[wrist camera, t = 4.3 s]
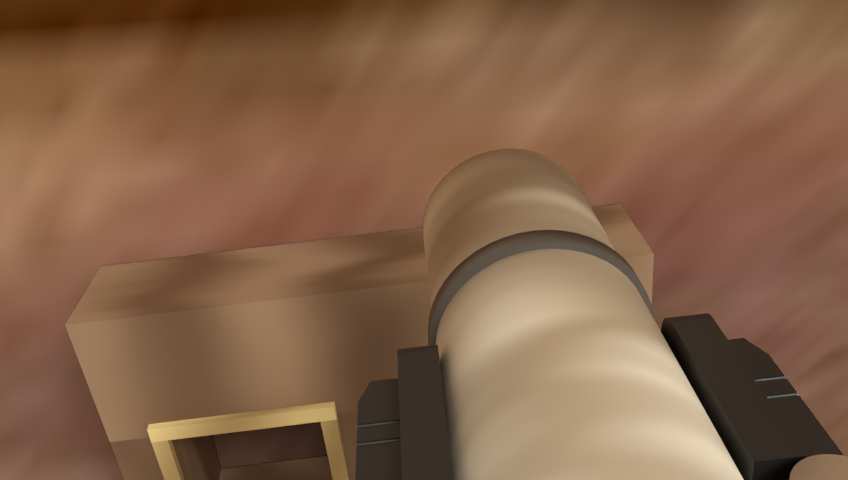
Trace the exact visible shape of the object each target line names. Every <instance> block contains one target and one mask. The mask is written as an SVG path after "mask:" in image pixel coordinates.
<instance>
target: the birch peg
mask: <svg viewBox="0 0 848 480" xmlns="http://www.w3.org/2000/svg"><path fill="white" fill-rule="evenodd" d="M423 238H424V247H425V257H426V266H427V275H428V285H429V294H430V303H431V311H430V315H429V321H428V343H429V345H437V344H438V352H439V360H440V368H441V377H442V386H443V395H444V403H445V412H446V421H447V430H448V438H449V447H450V456H451V465H452V473H453V480H744V479H743V477H742V475H741V474H740V472H739V470H738V468H737V467H736V465H735V463H734V461H733V459H732V458H731V456H730V454H729V452H728V450H727V449H726V447H725V445H724V443H723V442H722V440H721V438H720V436H719V434H718V433H717V431H716V429H715V427H714V426H713V424H712V422H711V420H710V418H709V417H708V415H707V413H706V411H705V409H704V408H703V406H702V404H701V402H700V401H699V399H698V397H697V395H696V393H695V392H694V390H693V388H692V386H691V384H690V383H689V381H688V379H687V377H686V376H685V374H684V372H683V370H682V368H681V367H680V365H679V363H678V361H677V359H676V358H675V356H674V354H673V352H672V351H671V349H670V347H669V345H668V343H667V342H666V340H665V338H664V336H663V334H662V333H661V331H660V329H659V327H658V326H657V324H656V322H655V320H654V313H653V308H652V304H651V302H650V299H649V297H648V294H647V292H646V290H645V289H644V287H643V285H642V284H641V282H640V280H639V278H638V277H637V275H636V273H635V272H634V270H633V268H632V267H631V266H630V265H629V264H628V262H627V261H626V260H625V259H624V258H623V257H622V256H621V255H619V254H618V253H617V252H616V251H615V249H614V247H613V245H612V243H611V242H610V240H609V238H608V236H607V234H606V233H605V231H604V229H603V227H602V226H601V224H600V222H599V220H598V218H597V217H596V215H595V213H594V211H593V209H592V208H591V206H590V204H589V202H588V201H587V199H586V197H585V195H584V193H583V192H582V190H581V188H580V186H579V185H578V183H577V181H576V180H575V179H574V177H573V176H572V175H571V174H570V172H568V171H567V170H566V169H565V168H564V167H563V166H562V165H560V164H559V163H557V162H556V161H555V160H553V159H551V158H549V157H547V156H545V155H542V154H539V153H536V152H533V151H528V150H523V149H500V150H494V151H489V152H486V153H482V154H479V155H477V156H474V157H472V158H470V159H468V160H466V161H464V162H463V163H461V164H459V165H458V166H457V167H455V168H454V169H453V170H452V171H450V172H449V173H448V174H447V175H446V176H445V177H444V178H443V179H442V180H441V182H440V183H439V184H438V185H437V187H436V188H435V190H434V191H433V193H432V195H431V197H430V199H429V201H428V204H427V206H426V210H425V214H424V220H423Z"/></svg>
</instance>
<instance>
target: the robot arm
mask: <svg viewBox="0 0 848 480" xmlns="http://www.w3.org/2000/svg"><path fill="white" fill-rule="evenodd" d="M661 333H662V334H663V336H664V338H665V340H666V342H667V343H668V345H669V347H670V349H671V351H672V352H673V354H674V356H675V358H676V359H677V361H678V363H679V365H680V367H681V368H682V370H683V372H684V374H685V376H686V377H687V379H688V381H689V383H690V384H691V386H692V388H693V390H694V392H695V393H696V395H697V397H698V399H699V401H700V402H701V404H702V406H703V408H704V409H705V411H706V413H707V415H708V417H709V418H710V420H711V422H712V424H713V426H714V427H715V429H716V431H717V433H718V434H719V436H720V438H721V440H722V442H723V443H724V445H725V447H726V449H727V450H728V452H729V454H730V456H731V458H732V459H733V461H734V463H735V465H736V467H737V468H738V470H739V472H740V474H741V475H742V477H743V479H744V480H848V457H847V456H844V455H843V454H842V453H841V451H840V450H839V449H838V447H837V446H836V444H835V443H834V442H833V440H832V439H831V438H830V436H829V435H828V434H827V432H826V431H825V430H824V428H823V427H822V426H821V424H820V423H819V422H818V420H817V419H816V418H815V416H814V415H813V413H812V412H811V411H810V409H809V408H808V407H807V405H806V404H805V403H804V401H803V400H802V399H801V397H800V396H797V394H796V391H795V389H794V388H793V387H792V385H791V384H790V382H789V381H788V380H787V379H785V378H784V374H783V373H782V372H781V370H780V369H779V368H778V366H777V365H776V364H775V362H774V361H773V360H772V358H771V357H770V356H769V354H767V353H766V352H764V351H763V350H761V349H760V348H758V347H756V346H755V345H753V344H752V343H750V342H749V341H747V340H746V339H744V338H740V339H732V340H727V338H726V337H725V335H724V334H723V332H722V331H721V329H720V328H719V326H718V325H717V323H716V322H715V321H714V319H713V318H712V316H711V315H709V314H707V313H706V314H697V315H688V316H680V317H671V318H665V319H664V320H663V323H662V327H661ZM397 358H398V378H394V379H386V380H377V381H371V382H370V383H369V385H368V386H367V388H366V390H365V391H364V393H363V395H362V396H361V398H360V400H359V401H358V417H357V426H358V429H357V447H356V472H355V480H453V473H452V465H451V456H450V447H449V438H448V430H447V421H446V412H445V403H444V395H443V386H442V377H441V368H440V360H439V352H438V344H437V345H428V346H420V347H411V348H403V349H398V350H397Z"/></svg>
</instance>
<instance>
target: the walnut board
mask: <svg viewBox="0 0 848 480" xmlns="http://www.w3.org/2000/svg"><path fill="white" fill-rule="evenodd" d="M591 208H592V209H593V211H594V213H595V215H596V217H597V218H598V220H599V222H600V224H601V226H602V227H603V229H604V231H605V233H606V234H607V236H608V238H609V240H610V242H611V243H612V245H613V247H614V249H615V251H616V252H617V253H618V254H619V255H621V256H622V257H623V258H624V259H625V260H626V261H627V262H628V264H629V265H630V266H631V267H632V268H633V270H634V272H635V273H636V275H637V277H638V278H639V280H640V282H641V284H642V285H643V287H644V289H645V290H646V292H647V294H648V297H649V299H650V302H651V304H652V282H653V259H654V254H653V252H652V251H651V249H650V248H649V246H648V245H647V243H646V242H645V240H644V239H643V237H642V236H641V234H640V233H639V231H638V230H637V228H636V227H635V225H634V224H633V223H632V221H631V220H630V218H629V217H628V215H627V214H626V212H625V211H624V209H623V208H622V206H621V205H620V204H614V205H606V206H598V207H591ZM430 311H431V303H430V294H429V285H428V275H427V266H426V257H425V247H424V238H423V228H415V229H407V230H399V231H390V232H382V233H374V234H366V235H357V236H349V237H341V238H332V239H324V240H316V241H307V242H299V243H291V244H283V245H274V246H266V247H258V248H249V249H241V250H233V251H224V252H216V253H208V254H200V255H191V256H183V257H175V258H166V259H158V260H150V261H142V262H133V263H125V264H117V265H108V266H101V267H100V269H99V270H98V272H97V273H96V275H95V277H94V278H93V280H92V282H91V283H90V285H89V287H88V288H87V290H86V292H85V293H84V295H83V296H82V298H81V300H80V301H79V303H78V305H77V306H76V308H75V310H74V311H73V313H72V315H71V316H70V318H69V320H68V321H67V323H66V324H65V326H66V329H67V332H68V334H69V337H70V339H71V342H72V345H73V347H74V350H75V352H76V355H77V358H78V360H79V363H80V366H81V368H82V371H83V373H84V376H85V379H86V381H87V384H88V386H89V389H90V392H91V394H92V397H93V399H94V402H95V405H96V407H97V410H98V413H99V415H100V418H101V420H102V423H103V426H104V428H105V431H106V433H107V436H108V439H109V441H110V444H111V446H112V449H113V452H114V454H115V457H116V459H117V462H118V465H119V467H120V470H121V473H122V475H123V478H124V480H355V472H356V447H357V429H358V426H357V417H358V401H359V400H360V398H361V396H362V395H363V393H364V391H365V390H366V388H367V386H368V385H369V383H370V382H371V381H377V380H386V379H394V378H398V358H397V350H398V349H403V348H411V347H420V346H428V345H429V343H428V321H429V315H430ZM314 422H321V427H322V431H323V436H324V441H325V446H326V450H327V455H328V456H321V457H313V458H305V459H297V460H289V461H281V462H273V463H265V464H256V465H248V466H240V467H232V468H224V469H221V466H220V463H219V460H218V456H217V453H216V450H215V446H214V443H213V440H212V436H211V435H216V434H224V433H232V432H240V431H249V430H257V429H265V428H273V427H281V426H289V425H297V424H305V423H314Z"/></svg>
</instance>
